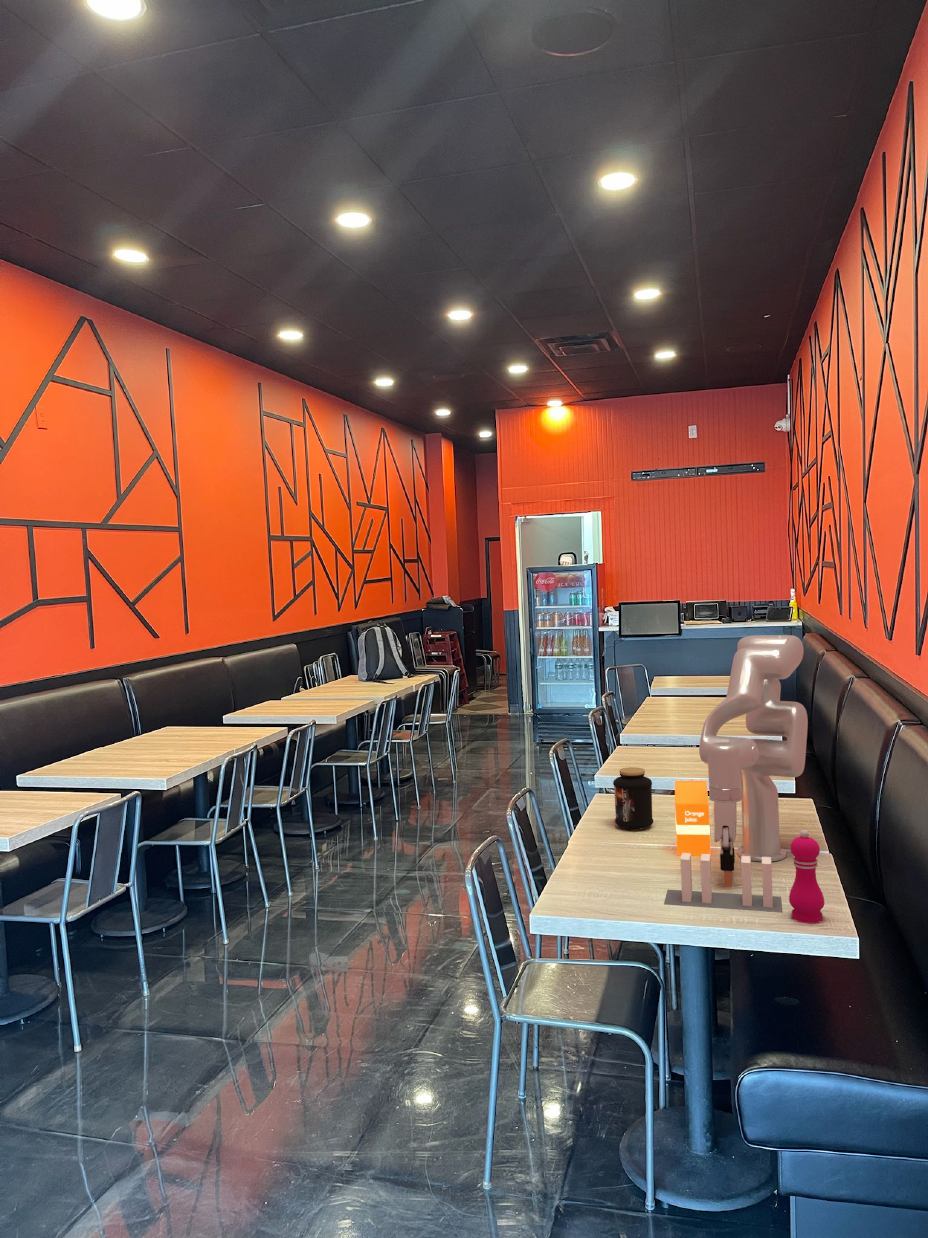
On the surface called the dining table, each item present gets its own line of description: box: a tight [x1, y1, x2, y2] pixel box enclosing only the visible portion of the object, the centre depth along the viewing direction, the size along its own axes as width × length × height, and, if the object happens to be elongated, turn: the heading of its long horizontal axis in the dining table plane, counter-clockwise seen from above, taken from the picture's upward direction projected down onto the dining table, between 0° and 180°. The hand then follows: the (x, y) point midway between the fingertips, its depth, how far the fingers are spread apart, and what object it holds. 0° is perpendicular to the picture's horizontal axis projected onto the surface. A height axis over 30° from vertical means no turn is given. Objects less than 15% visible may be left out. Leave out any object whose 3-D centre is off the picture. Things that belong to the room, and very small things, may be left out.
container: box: [612, 766, 654, 831], centre depth 269 cm, size 12×12×18 cm
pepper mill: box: [788, 829, 825, 924], centre depth 191 cm, size 7×7×20 cm
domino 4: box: [740, 856, 753, 906], centre depth 201 cm, size 2×5×10 cm, turn 162°
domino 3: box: [722, 844, 734, 888], centre depth 214 cm, size 2×5×10 cm, turn 162°
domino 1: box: [680, 853, 693, 902], centre depth 206 cm, size 2×5×10 cm, turn 162°
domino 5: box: [761, 857, 773, 908], centre depth 200 cm, size 2×5×10 cm, turn 162°
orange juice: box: [674, 780, 711, 857], centre depth 242 cm, size 8×9×20 cm
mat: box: [663, 889, 784, 913], centre depth 203 cm, size 10×26×1 cm, turn 72°
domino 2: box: [700, 853, 713, 903], centre depth 204 cm, size 2×5×10 cm, turn 162°
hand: (727, 866), depth 214 cm, fingers closed on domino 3, 4 cm apart
